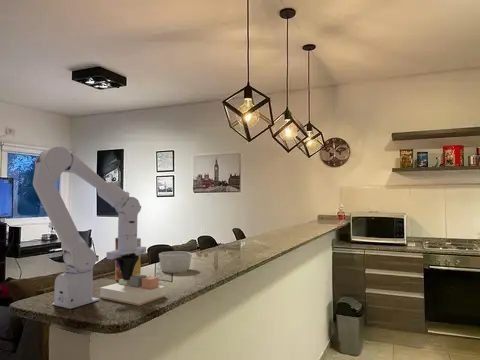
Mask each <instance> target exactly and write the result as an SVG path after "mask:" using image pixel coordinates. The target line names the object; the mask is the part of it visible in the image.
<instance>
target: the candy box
mask: <svg viewBox="0 0 480 360" xmlns="http://www.w3.org/2000/svg"><path fill="white" fill-rule="evenodd" d="M114 241H115V246H114V248H115V249H114V250H118V237H115V239H114ZM141 245H142V239H141V237H137V247H142V246H141ZM136 255H137V256H139V259H138V261H137V262H136V264H135V267H134V270H133V273H132V276H134V275H141V271H142V270H141V265H142V264H141V263H142V261H141V258H142V257H141V256H142V253H140V254H136ZM114 259H115V262H114V263H115V264H114V267H115V268H114V270H115V271H114V275H115V276H114V280H115V281H119V280H120V279H123V276H122V272H121V269H120V267H119V264H118V263H117V261H116V258H114Z"/></svg>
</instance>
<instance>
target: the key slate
mask: <svg viewBox="0 0 480 360" xmlns="http://www.w3.org/2000/svg"><path fill="white" fill-rule="evenodd" d="M145 277H148V276H147V275H144V274H140V275H134V276H131V277H130V286H131V287H137V288H139V287H142V278H145Z"/></svg>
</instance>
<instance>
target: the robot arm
mask: <svg viewBox="0 0 480 360" xmlns="http://www.w3.org/2000/svg"><path fill="white" fill-rule="evenodd" d="M62 173H70V174H75V175H76V176H77V177H79V178H80V179H82V180H83V181H84V182H86V183H88V184H89V185H90V186H92V187H93V188H95V189H96V190H97V195H98V197H99V198H101V199H102V200H104V201H105V202H106V203H108V204H109V205H111V206H112V208H114V209H115V212H116V213H118V214H117V215H118V223H117V224H118V225H117V227H118V228H117V238H118V250H115V249H114V250H112V251H107V252H106V260H114V259H115V258H116V261H117V263H118V264H119V267H120V269H121V272H122V276H123V279H124V280H130V277H131V276H132V273H133V270H134V267H135V264H136V262H137V261H138V259H139V256H137V255H136V254H140V253H141V254H146V253H147V246H141V247H137V238H138V216H139V213H140V212H141V210H142V205H141V202H140V201H139V199H138V198H136V197H134V196H130V193H129V192H128V191H125V190H123V188H121V187H120V186H119V183H118V182H117V181H112V180H104V179H103V178H102V177H101V176H99V174H98V173H97V172H95V171H94V170H93V169H92V168H90V167H89V166H88V165H87V164H86V163H85V162H84V161H82V160H81V159H80V158H79V157H78V156H77V155H76V154H74V152H73V153H72V152H70V151H69V149H67V148H66V147H63V146H59V145H58V146H53V147H51V148H48V149H45V150H43V151H41V152H40V153H39V155H38V157H37V158H36V160H35V161H34V173H33V178H32V186H33V189H34V191H35V193H36V195H37V197H38V199H39V201H40V202H41V204H42V207H43V208H44V211H45V213H46V215H47V216H48V218H49V221H50V222H51V223H50V224H51V225H52V227H53V229H54V231H55V232H56V234H57V236H58V239H59V240H60V244H61V245H60V246H61V249H62V253H63V255H62V260H63V261H64V264H65V265H66V267H65V270H64V272H63V273H60V274H59V275H57V276H56V278H55V280H54V289H53V290H54V291H53V292H54V293H53V295H54V296H53V302H52V305H53V306H56V307H61V308H65V309H74V308H78V307H80V306H84V305H88V304H91V303H95V302H98V301H100V297H99V298H98V297H93V283H94V281H93V279H94V276H93V275H94V274H93V273H94V270H93V269H94V266H95V264H96V262H97V254H96V252H95V251H94V250H93V249H92V248H90V247H89V246H88V244H87V242H86V241H85V240H84V238H83V237H82V236H81V234H80V232H79V230H78V228H77V227H76V225H75V223H74V220H73V218H72V216H71V214H70V212H69V210H68V208H67V206H66V203H65V202H64V200H63V198H62V195H61V193H60V191H59V190H58V187H57V182H58V180H59V178H60V177H61V175H62Z"/></svg>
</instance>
